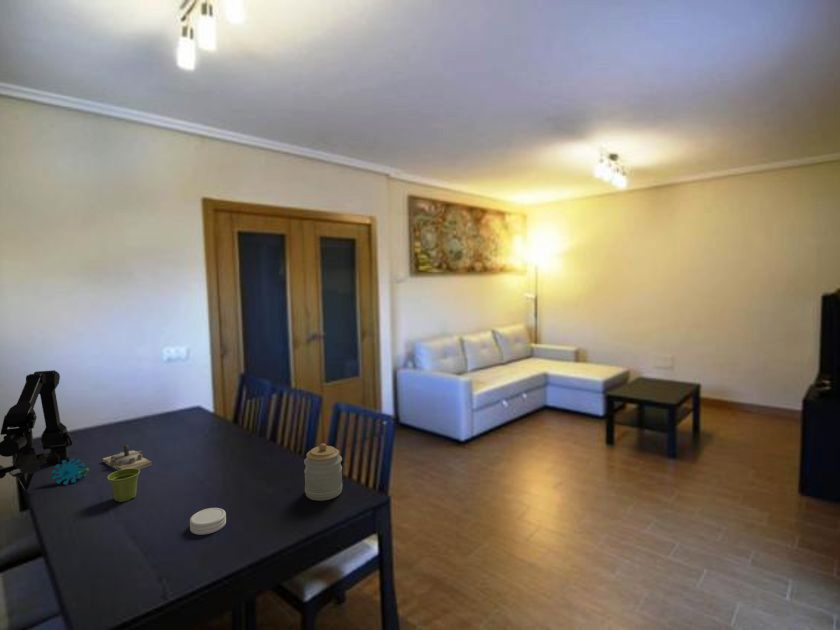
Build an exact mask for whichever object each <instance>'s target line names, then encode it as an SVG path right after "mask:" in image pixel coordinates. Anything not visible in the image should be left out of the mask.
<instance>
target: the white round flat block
mask: <svg viewBox="0 0 840 630" xmlns="http://www.w3.org/2000/svg"><path fill="white" fill-rule="evenodd" d="M226 515H227V513H226V511H225V510H224V509H223V508H220V507H209V508H204V509H202V510H199V511H198V512H195V513H194V514H193V515H192V516H191V517H190V519H189V530H190V532H191V533H192V534H195V535H197V536H198V535H210V534H212V533H215V532H217V531H220V530H221V529H222V528H224V527H225V525H226V523H227V516H226Z"/></svg>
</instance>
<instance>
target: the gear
mask: <svg viewBox="0 0 840 630" xmlns="http://www.w3.org/2000/svg"><path fill="white" fill-rule="evenodd" d="M69 458H70V460H69V461H68V463H67V461H66V460H63V461H62V463H61V464H62V467H61V465H60V463H58V464H55V466H54V467H55V469H53V470H52V471H51V475H53V476H52V481H55V480H56V484H58V485H60V484H61V483H62V482H63V483H62V484H63V485H64V486H67V485H68V484H69V481H71V484H74V483H76V482H77V480H76V477H77V479H81V478H83V477H86V476H87V475H86V474H87V472H89V471H90V468H89V467H86V468H85V466H86V465H85V463H84V462H82V461H81V460H80V458H77V460H76V461H75V458H71V457H69ZM81 462H82V463H81ZM80 467H81V468H80ZM56 469H57V470H59V471H57V470H56ZM56 475H57V476H56Z"/></svg>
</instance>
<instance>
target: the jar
mask: <svg viewBox="0 0 840 630" xmlns="http://www.w3.org/2000/svg"><path fill="white" fill-rule="evenodd" d="M305 455H306V456H305V457H306V458H305V459H304V460H303V464H304V465H305V468H304V483H305V484H304V492H305V496H306V498H308V499H309V500H312V501H320V502H321V501H329V500H331V499H335V498H337V497H338V496H340V494H341V493H342V491H343V479H342V478H343V474H342V473H343V471H342V470H343V466H342V464H341V462H342V461H343V457H342V456H341V455H340V450H339V449H337V448H336V447H334V446H331V445H327V444H326V443H321V444H319V445H318V446H315V447H313V448H311V450H309V451H308V452H307V453H306V454H305Z"/></svg>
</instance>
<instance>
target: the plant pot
mask: <svg viewBox="0 0 840 630" xmlns="http://www.w3.org/2000/svg"><path fill="white" fill-rule="evenodd" d="M140 473H141V469H137V468H127V469H122V470H116V471H113V472H112V473H110V474H108V475H107V478H106V479H107V480H108V482H109V483H110V485H111V489H112V494H113V496H114V497H113V498H114V502H119V503H123V502H128V501H130V500H132V499H134V498H136V497H137V489H138V487H137V486H138V478H139V475H140Z"/></svg>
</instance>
